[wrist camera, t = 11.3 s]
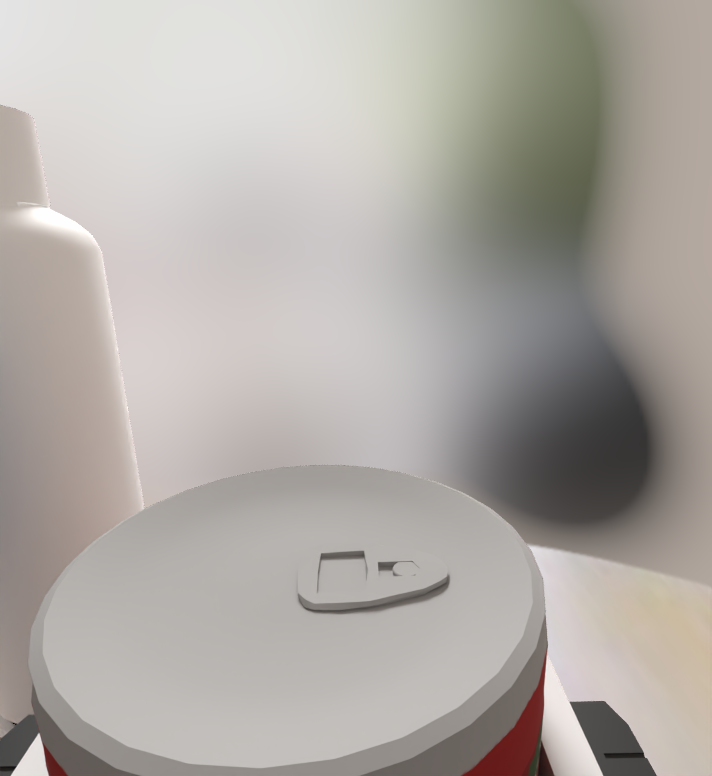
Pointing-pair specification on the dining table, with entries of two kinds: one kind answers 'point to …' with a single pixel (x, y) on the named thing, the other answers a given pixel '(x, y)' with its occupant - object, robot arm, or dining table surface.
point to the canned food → (296, 635)
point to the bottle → (51, 404)
